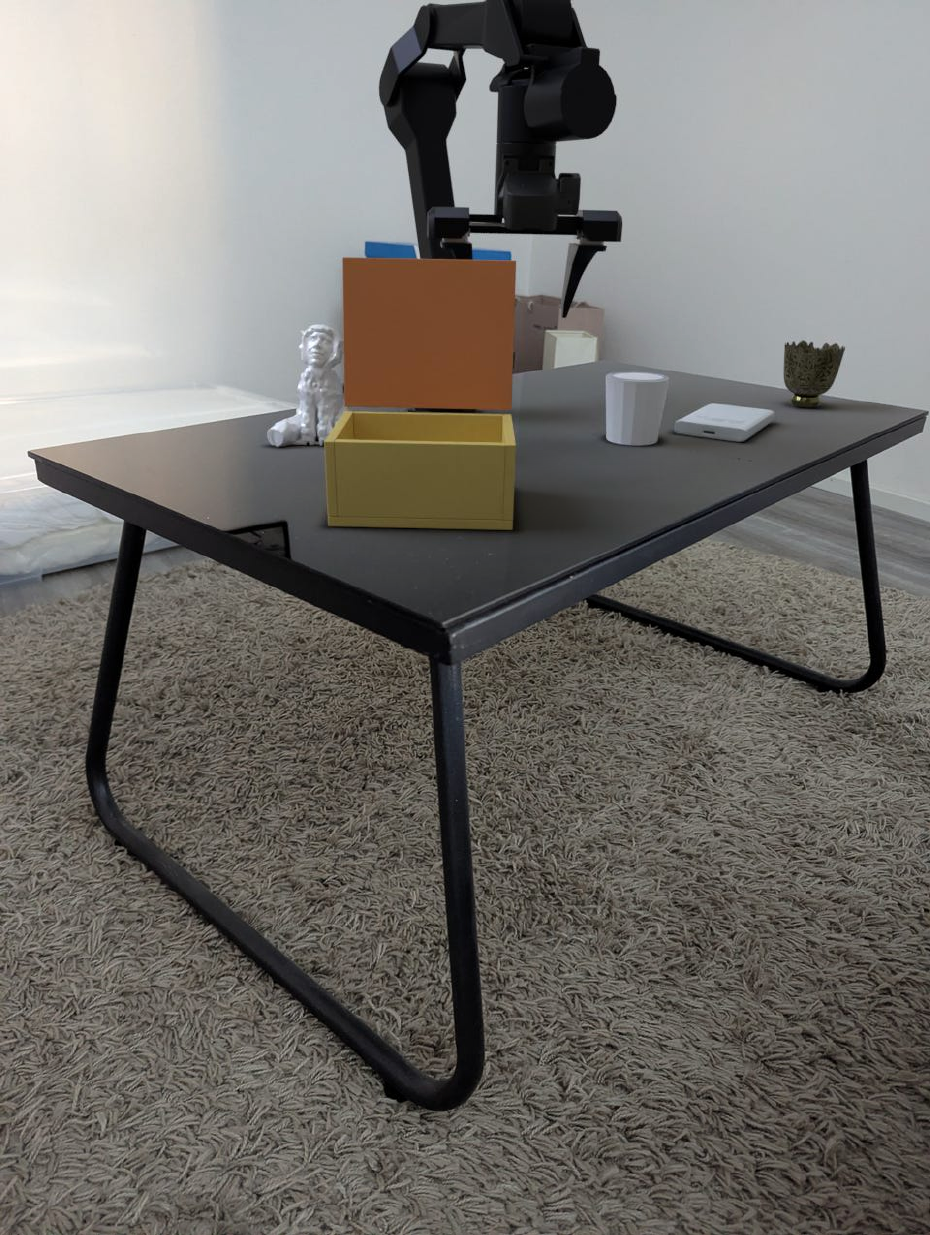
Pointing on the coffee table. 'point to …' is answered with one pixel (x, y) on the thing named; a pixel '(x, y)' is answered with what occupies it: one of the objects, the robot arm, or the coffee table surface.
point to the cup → (810, 371)
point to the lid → (428, 333)
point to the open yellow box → (421, 470)
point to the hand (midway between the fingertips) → (518, 316)
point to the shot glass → (634, 406)
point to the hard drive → (724, 422)
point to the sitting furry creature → (315, 391)
